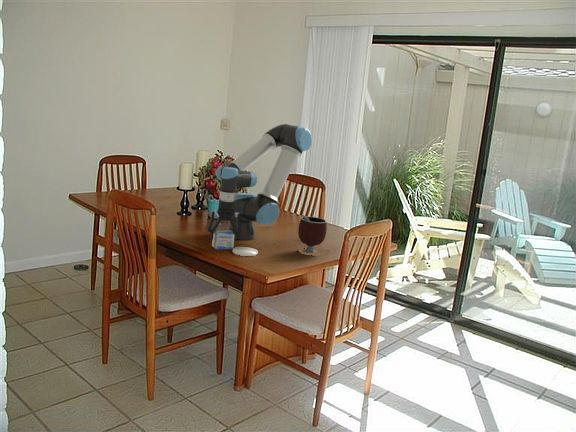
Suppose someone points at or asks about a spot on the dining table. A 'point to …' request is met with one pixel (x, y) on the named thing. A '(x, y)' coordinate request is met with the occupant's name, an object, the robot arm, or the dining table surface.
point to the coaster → (245, 251)
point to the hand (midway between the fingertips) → (222, 246)
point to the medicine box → (223, 239)
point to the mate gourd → (312, 232)
